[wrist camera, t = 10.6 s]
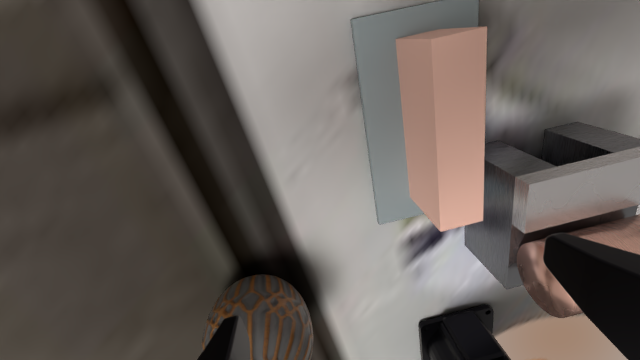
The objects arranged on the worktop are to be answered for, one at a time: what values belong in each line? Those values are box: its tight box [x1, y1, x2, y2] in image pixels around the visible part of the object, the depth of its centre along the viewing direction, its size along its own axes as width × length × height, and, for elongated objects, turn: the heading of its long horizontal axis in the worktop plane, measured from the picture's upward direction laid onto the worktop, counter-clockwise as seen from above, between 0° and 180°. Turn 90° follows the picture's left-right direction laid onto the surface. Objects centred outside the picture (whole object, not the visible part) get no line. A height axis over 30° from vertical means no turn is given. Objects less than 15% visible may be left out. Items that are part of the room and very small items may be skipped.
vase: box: [202, 274, 313, 360], centre depth 20 cm, size 7×7×9 cm
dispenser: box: [465, 122, 640, 318], centre depth 19 cm, size 8×8×9 cm
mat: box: [351, 0, 479, 225], centre depth 20 cm, size 13×7×1 cm, turn 11°
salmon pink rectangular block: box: [395, 27, 487, 232], centre depth 18 cm, size 10×2×4 cm, turn 12°
